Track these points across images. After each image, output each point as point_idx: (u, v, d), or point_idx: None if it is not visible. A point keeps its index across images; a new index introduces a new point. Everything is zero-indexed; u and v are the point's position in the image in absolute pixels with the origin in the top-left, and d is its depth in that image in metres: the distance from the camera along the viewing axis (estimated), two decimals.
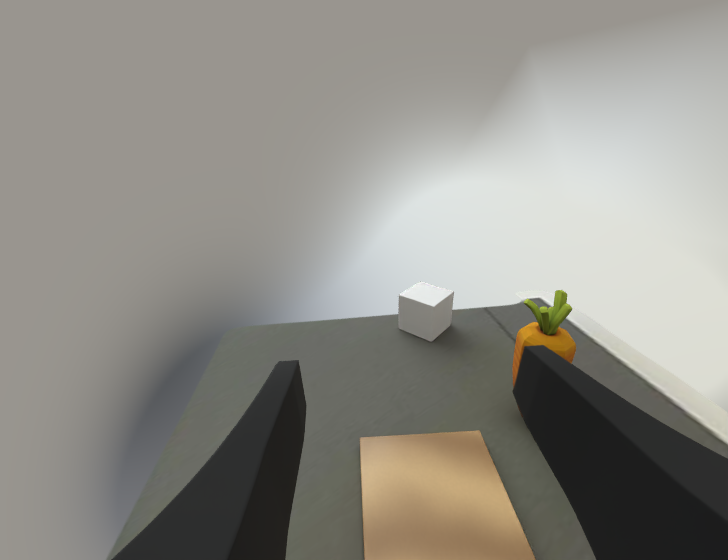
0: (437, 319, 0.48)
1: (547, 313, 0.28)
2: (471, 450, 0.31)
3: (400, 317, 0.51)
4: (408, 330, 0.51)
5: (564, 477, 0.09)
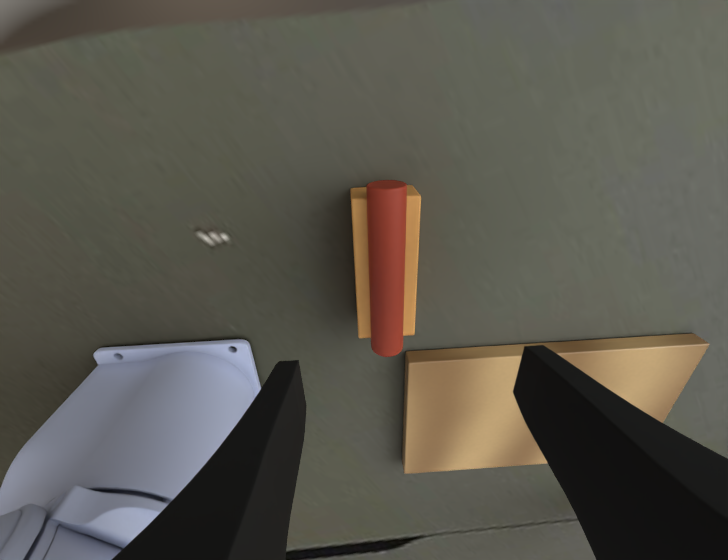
0: None
1: None
2: None
3: None
4: None
5: (564, 477, 0.09)
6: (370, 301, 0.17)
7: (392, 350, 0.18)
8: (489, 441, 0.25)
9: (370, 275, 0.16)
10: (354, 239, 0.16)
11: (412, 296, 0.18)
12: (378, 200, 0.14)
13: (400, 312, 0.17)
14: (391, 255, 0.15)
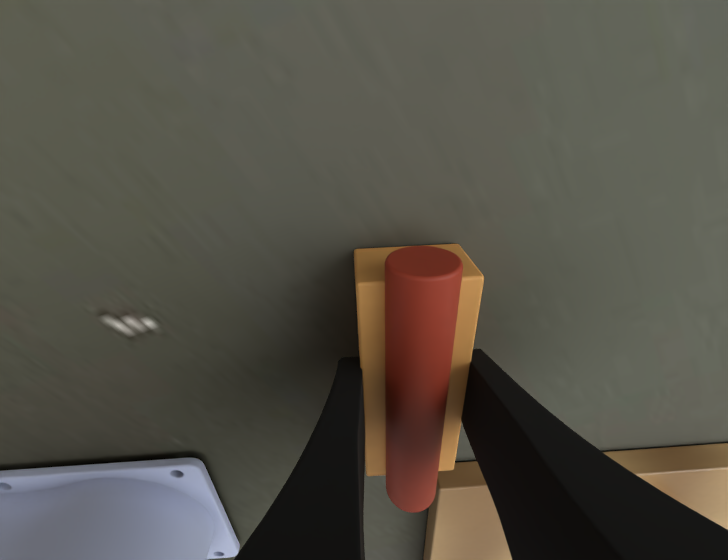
0: None
1: None
2: None
3: None
4: None
5: (491, 482, 0.09)
6: (387, 436, 0.10)
7: (421, 505, 0.11)
8: None
9: (388, 402, 0.09)
10: (361, 346, 0.09)
11: (455, 423, 0.11)
12: (409, 295, 0.07)
13: (437, 453, 0.10)
14: (430, 384, 0.08)
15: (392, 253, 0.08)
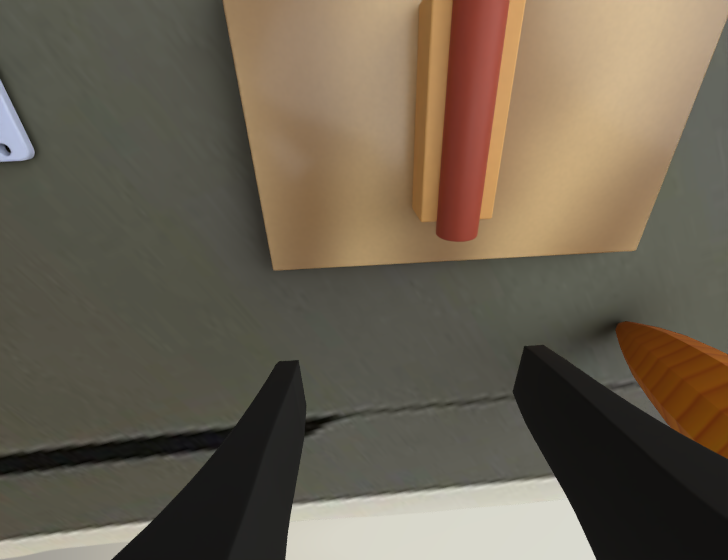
0: None
1: None
2: (606, 226, 0.17)
3: None
4: None
5: (564, 477, 0.09)
6: (443, 159, 0.13)
7: (468, 231, 0.14)
8: (394, 200, 0.16)
9: (448, 115, 0.12)
10: (430, 58, 0.12)
11: (497, 156, 0.13)
12: None
13: (483, 174, 0.13)
14: (486, 71, 0.11)
15: None
